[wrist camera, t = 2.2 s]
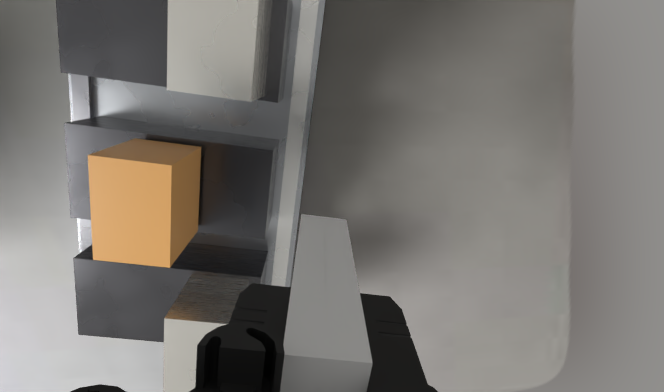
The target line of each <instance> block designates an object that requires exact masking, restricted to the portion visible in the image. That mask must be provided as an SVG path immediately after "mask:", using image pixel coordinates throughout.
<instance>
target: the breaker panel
mask: <svg viewBox="0 0 664 392" xmlns="http://www.w3.org/2000/svg"><path fill="white" fill-rule="evenodd" d="M324 7H325V0H56V8H57V23H58V38H59V53H60V68H61V72H62V73H68V78H69V94H70V110H71V122H67V123H64V127H65V141H66V156H67V171H68V186H69V201H70V215H71V218H77V223H78V239H79V254H78V255H77V256H76V257H74V258H73V260H74V274H75V289H76V304H77V319H78V334H79V335H88V336H100V337H111V338H122V339H134V340H145V341H156V342H164V377H163V392H189V391H191V390H192V389H194V388H195V383H196V360H197V345H198V343H199V342H200V341H201V340H202V338H203V337H204V336H205V334H207V333H209V332H210V331H212V330H214V329H215V328H217V327H219V326H223V325H227V324H229V321H230V318H231V316H232V313H233V310H234V308H235V305H236V302H237V299H238V297H239V294H240V293H241V292H242V291H243V290H244V289H246V288H247V287H248V286H249V285H250V284H252V283H256V284H265V285H274V286H283V287H290V284H291V276H292V267H293V259H294V251H295V243H296V235H297V227H298V219H299V211H300V202H301V194H302V186H303V178H304V170H305V162H306V154H307V146H308V137H309V129H310V121H311V113H312V105H313V97H314V89H315V81H316V72H317V64H318V56H319V48H320V40H321V32H322V24H323V16H324ZM135 138H137V139H145V140H152V141H160V142H168V143H176V144H183V145H191V146H199V147H201V166H200V192H199V217H198V231H197V233H196V234H195V235H194V237H193V238H192V239H191V241H190V242H189V243H188V245H187V246H186V247H185V249H184V250H183V251H182V253H181V254H180V255H179V256H178V258H177V259H176V260H175V262H174V263H173V264H172V266H171V267H170V268H167V267H157V266H148V265H138V264H128V263H119V262H109V261H99V260H93V250H92V230H91V210H90V190H89V171H88V155H89V154H92V153H95V152H98V151H101V150H103V149H106V148H109V147H112V146H115V145H118V144H120V143H123V142H126V141H129V140H132V139H135Z"/></svg>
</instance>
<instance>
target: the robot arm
mask: <svg viewBox="0 0 664 392" xmlns="http://www.w3.org/2000/svg"><path fill="white" fill-rule="evenodd" d="M410 336H411V335H410V332H409V329H408V326H406V320H405V318H404V315H403V312H402V309H401V308H400V307H399V306H398V305H397V304H396V303H395V302H394V301H393V300H392V299H391V298H390V297H389V296H379V295H370V294H361V293H360V291H359V285H358V280H357V274H356V269H355V263H354V258H353V252H352V247H351V241H350V236H349V230H348V225H347V219H339V218H331V217H323V216H315V215H307V214H301V220H300V227H299V234H298V242H297V249H296V256H295V263H294V271H293V278H292V285H291V287H283V286H274V285H265V284H256V283H252V284H250V285H249V286H248V287H247V288H246V289H244V290H243V291H242V292H241V293H240V294H239V297H238V299H237V302H236V305H235V308H234V310H233V313H232V316H231V318H230V321H229V324H227V325H223V326H219V327H217V328H215V329H214V330H212V331H210V332H209V333H207V334H205V336H204V337H203V338H202V340H201V341H200V342H199V343H198V345H197V360H196V383H195V388H194V389H192V390H191V391H189V392H438V391H437V390H436V389H434V388H433V387H431V386H429V385H428V384H427V381H426V378H425V375H424V372H423V369H422V367H421V364H420V361H419V358H418V355H417V352H416V349H415V346H414V344H413V341H412V338H410ZM71 392H126V391H124V390H122V389H121V388H119V387H116V386H108V385H94V386H88V387H82V388H78V389H76V390H73V391H71Z"/></svg>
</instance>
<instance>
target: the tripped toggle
mask: <svg viewBox="0 0 664 392" xmlns="http://www.w3.org/2000/svg"><path fill="white" fill-rule="evenodd" d="M200 166H201V147H199V146H191V145H183V144H176V143H168V142H160V141H152V140H145V139H137V138H135V139H132V140H129V141H126V142H123V143H120V144H118V145H115V146H112V147H109V148H106V149H103V150H101V151H98V152H95V153H92V154H89V155H88V171H89V190H90V210H91V230H92V250H93V260H99V261H109V262H119V263H128V264H138V265H148V266H157V267H167V268H170V267H171V266H172V264H173V263H174V262H175V260H176V259H177V258H178V256H179V255H180V254H181V253H182V251H183V250H184V249H185V247H186V246H187V245H188V243H189V242H190V241H191V239H192V238H193V237H194V235H195V234H196V233H197V231H198V217H199V192H200Z"/></svg>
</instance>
